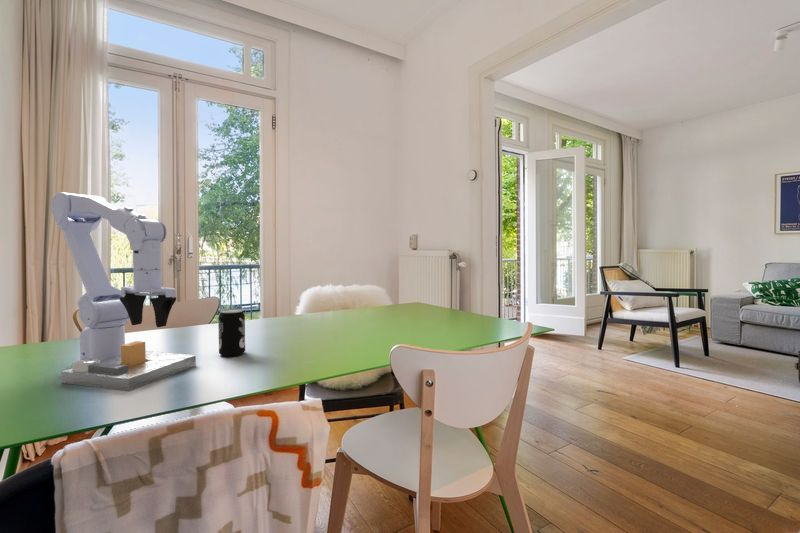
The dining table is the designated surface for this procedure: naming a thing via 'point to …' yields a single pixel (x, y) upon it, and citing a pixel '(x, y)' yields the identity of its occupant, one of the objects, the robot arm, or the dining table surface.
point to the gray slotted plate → (126, 371)
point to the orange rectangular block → (133, 353)
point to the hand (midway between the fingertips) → (148, 325)
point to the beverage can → (231, 332)
